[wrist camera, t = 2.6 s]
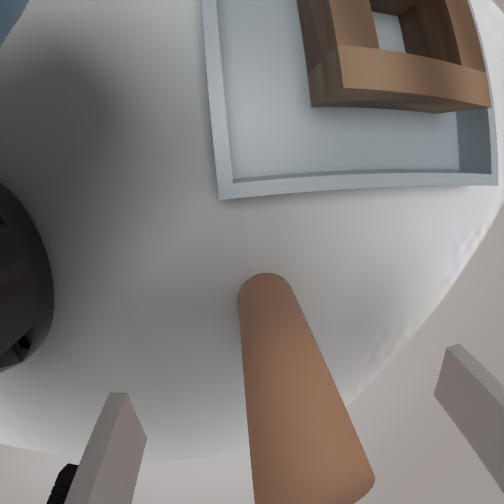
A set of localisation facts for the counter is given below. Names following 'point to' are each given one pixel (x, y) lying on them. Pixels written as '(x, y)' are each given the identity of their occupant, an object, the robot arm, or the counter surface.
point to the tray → (322, 116)
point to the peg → (294, 406)
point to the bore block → (394, 56)
